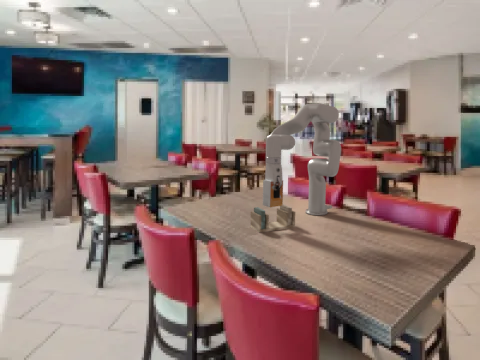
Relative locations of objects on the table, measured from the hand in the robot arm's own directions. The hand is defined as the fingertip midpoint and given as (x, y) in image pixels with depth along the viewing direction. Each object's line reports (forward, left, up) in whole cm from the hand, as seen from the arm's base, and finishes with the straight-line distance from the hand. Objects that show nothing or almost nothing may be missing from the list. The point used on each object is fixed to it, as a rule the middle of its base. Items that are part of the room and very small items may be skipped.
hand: (272, 196), depth 189 cm
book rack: (0, 0, -16) cm, 16 cm away
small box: (0, 0, -5) cm, 5 cm away
